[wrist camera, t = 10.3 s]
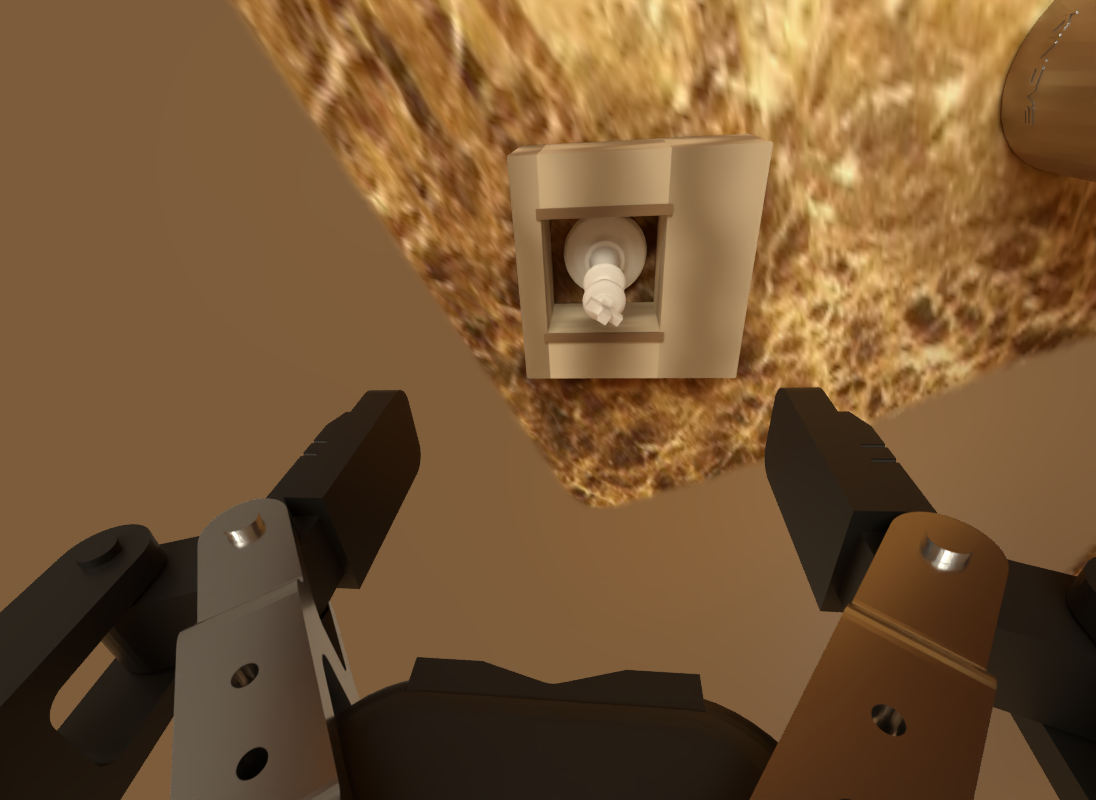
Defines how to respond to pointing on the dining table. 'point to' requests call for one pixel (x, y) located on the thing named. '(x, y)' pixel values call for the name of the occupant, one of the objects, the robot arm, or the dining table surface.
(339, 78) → the dining table surface
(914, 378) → the dining table surface
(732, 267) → the socket block
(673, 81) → the dining table surface
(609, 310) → the chess piece
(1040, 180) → the dining table surface
